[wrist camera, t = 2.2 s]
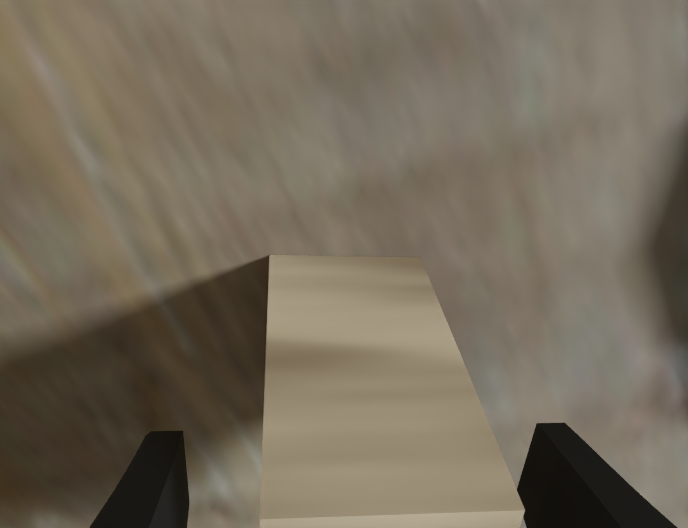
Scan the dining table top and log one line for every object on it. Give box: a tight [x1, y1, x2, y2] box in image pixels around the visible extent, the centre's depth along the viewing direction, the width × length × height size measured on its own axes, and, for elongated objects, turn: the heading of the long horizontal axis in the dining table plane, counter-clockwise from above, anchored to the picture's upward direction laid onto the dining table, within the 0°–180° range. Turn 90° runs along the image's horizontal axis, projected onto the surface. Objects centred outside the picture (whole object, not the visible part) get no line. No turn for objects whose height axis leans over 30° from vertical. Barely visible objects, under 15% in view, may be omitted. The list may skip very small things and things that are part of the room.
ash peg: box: [260, 255, 525, 528], centre depth 13 cm, size 4×4×8 cm
